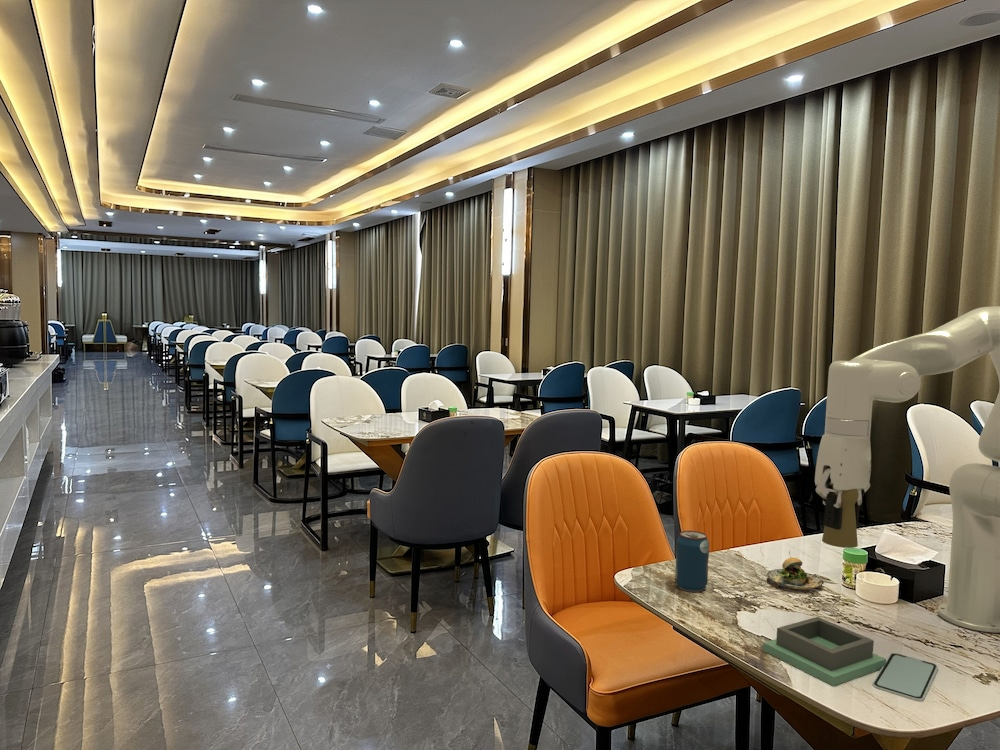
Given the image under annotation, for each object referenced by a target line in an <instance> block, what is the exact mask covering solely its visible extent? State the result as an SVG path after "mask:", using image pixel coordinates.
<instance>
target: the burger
mask: <svg viewBox="0 0 1000 750" xmlns="http://www.w3.org/2000/svg"><path fill="white" fill-rule="evenodd" d="M788 553H789V555H791V553H790V550H789V551H788ZM802 566H803V561H802V560H801V559H799V558H797V557H791V556H789V557H788V558H786V559H785V560H784V562H783V563H782V564H781V567H782V568H777V569H772V570H770V571H768V572H767V574H766V576H767V578H766V583H767V584H768V585H770V587H773V588H774V589H778V586H782V587H783V588H784V587H786V588H789V589H793V590H805V591H806V590H812V589H816V588H817V587H822V586H823V585H824V584H825V582H824V580H823V579H821V578H820V577H819V576H817V575H816V574H812V573H809V572H805V570H804V569H803V568H802Z"/></svg>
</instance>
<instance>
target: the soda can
mask: <svg viewBox="0 0 1000 750" xmlns="http://www.w3.org/2000/svg"><path fill="white" fill-rule="evenodd" d="M709 556H710V542H709V540H708V536H707V534H706V533H705V532H701V531H698V530H682V531H680V532H679V535H678V537H677V539H676V549H675V570H674V571H675V575H674V577H675V578H674V580H675V583H676V585H677V587H678V588H679V589H680V590H683V591H686V592H690V593H698V592H702V591H704V590H705V589H706V588H707V585H708V582H709V581H708V579H709V577H708V576H709Z"/></svg>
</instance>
